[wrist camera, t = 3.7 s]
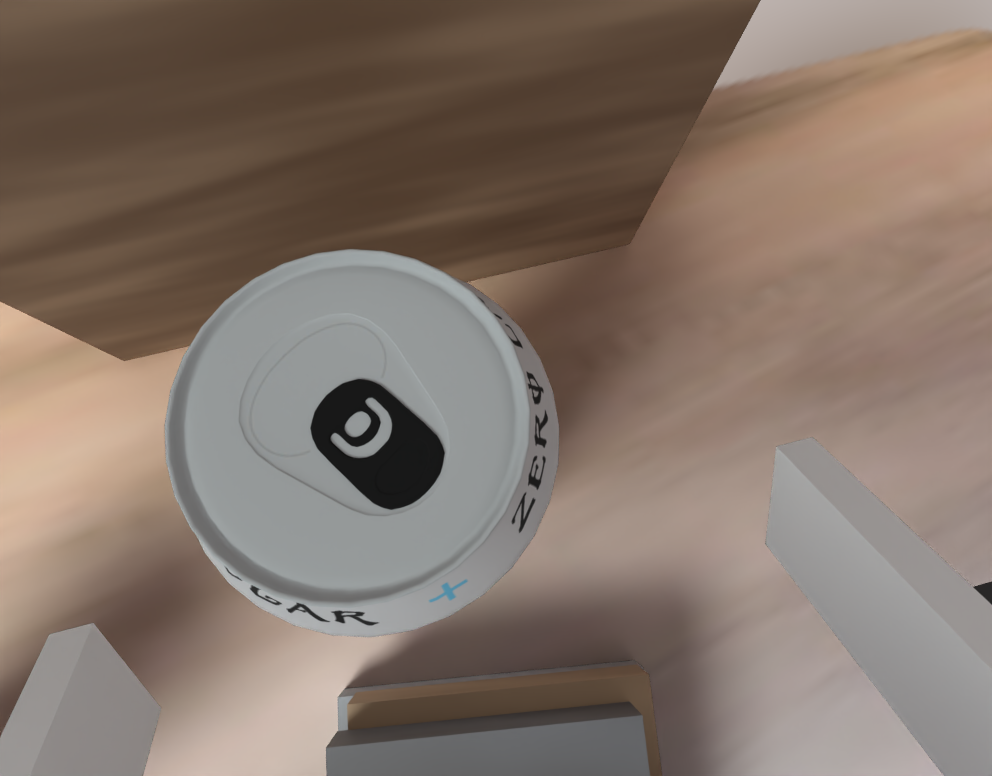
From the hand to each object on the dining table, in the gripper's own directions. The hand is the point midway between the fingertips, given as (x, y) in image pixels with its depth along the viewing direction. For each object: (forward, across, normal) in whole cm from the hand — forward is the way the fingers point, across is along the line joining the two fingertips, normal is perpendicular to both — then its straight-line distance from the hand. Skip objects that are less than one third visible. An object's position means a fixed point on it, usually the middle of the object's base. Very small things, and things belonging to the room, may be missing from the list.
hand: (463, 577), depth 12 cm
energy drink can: (+9, -1, -6) cm, 11 cm away
